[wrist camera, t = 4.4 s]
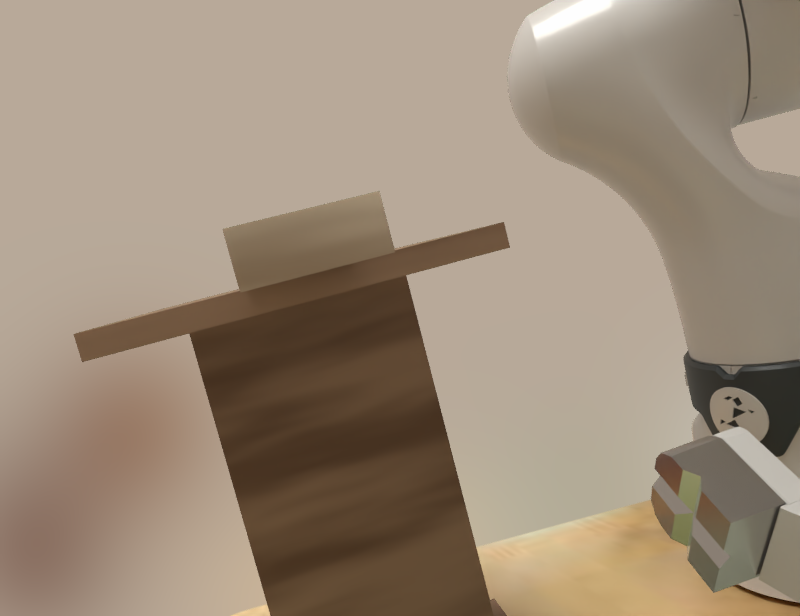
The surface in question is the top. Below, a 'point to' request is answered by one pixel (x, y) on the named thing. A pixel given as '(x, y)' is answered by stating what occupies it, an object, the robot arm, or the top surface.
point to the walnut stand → (335, 434)
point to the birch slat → (308, 241)
